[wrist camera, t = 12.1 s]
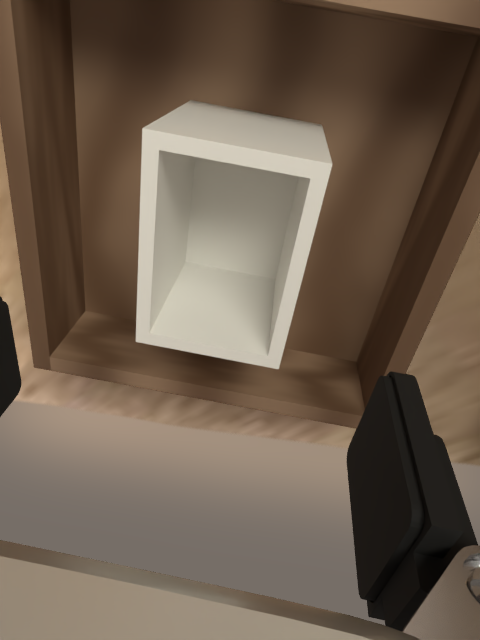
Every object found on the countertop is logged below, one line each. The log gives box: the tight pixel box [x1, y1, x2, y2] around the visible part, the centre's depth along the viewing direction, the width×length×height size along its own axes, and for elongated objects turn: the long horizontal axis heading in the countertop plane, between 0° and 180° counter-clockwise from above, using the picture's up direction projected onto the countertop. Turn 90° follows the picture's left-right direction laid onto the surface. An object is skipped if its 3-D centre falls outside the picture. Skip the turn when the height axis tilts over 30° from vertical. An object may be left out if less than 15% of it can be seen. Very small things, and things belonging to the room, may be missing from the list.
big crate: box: [0, 0, 480, 429], centre depth 22 cm, size 20×20×6 cm
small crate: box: [136, 100, 332, 369], centre depth 21 cm, size 6×9×8 cm
